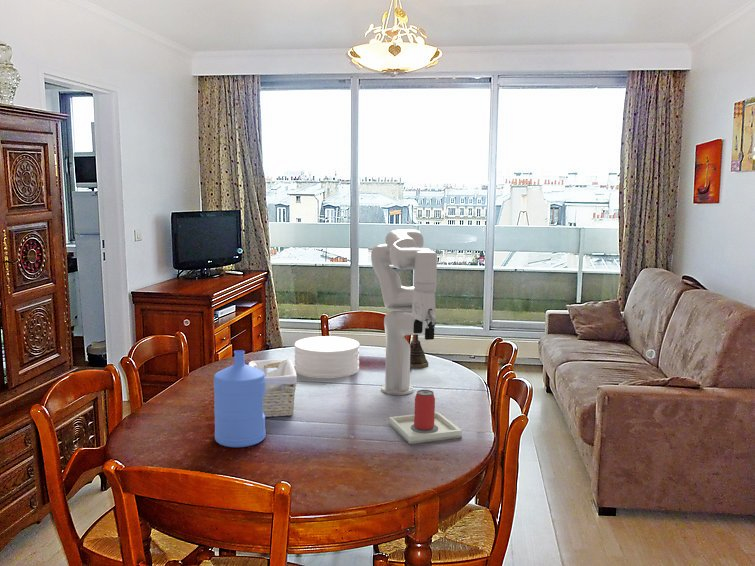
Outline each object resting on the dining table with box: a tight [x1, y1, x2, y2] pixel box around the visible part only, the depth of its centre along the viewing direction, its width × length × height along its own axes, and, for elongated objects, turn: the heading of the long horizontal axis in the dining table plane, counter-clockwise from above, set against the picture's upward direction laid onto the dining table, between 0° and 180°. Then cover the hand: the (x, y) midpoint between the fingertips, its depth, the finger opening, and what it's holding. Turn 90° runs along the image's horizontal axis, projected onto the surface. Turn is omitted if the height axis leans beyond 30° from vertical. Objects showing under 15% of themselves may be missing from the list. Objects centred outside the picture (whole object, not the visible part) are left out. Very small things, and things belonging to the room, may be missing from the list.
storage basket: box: [248, 358, 298, 418], centre depth 231 cm, size 24×16×15 cm
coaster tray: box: [388, 411, 463, 445], centre depth 212 cm, size 18×18×2 cm
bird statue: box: [407, 310, 429, 369], centre depth 286 cm, size 17×13×35 cm
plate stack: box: [294, 335, 360, 379], centre depth 281 cm, size 28×28×12 cm
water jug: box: [213, 349, 267, 448], centre depth 201 cm, size 16×16×28 cm
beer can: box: [413, 389, 436, 430], centre depth 211 cm, size 7×7×12 cm
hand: (423, 336), depth 223 cm, fingers open, 9 cm apart
